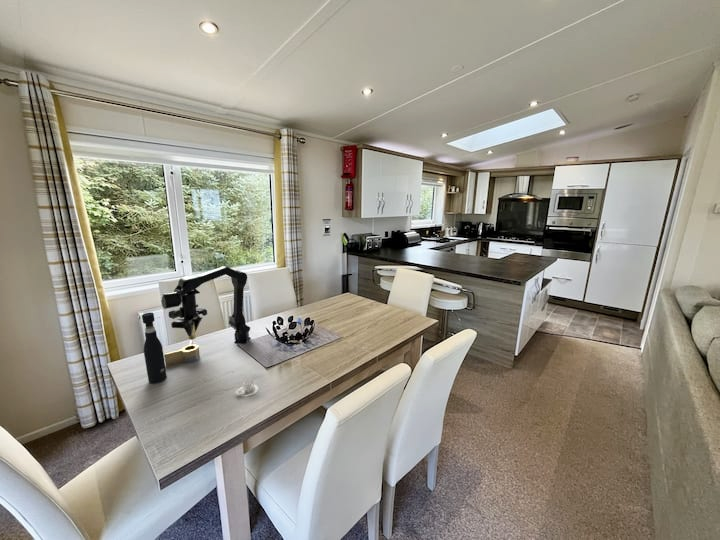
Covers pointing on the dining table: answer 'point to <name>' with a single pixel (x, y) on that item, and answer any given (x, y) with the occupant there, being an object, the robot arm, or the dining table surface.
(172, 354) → the hinge
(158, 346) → the black water bottle
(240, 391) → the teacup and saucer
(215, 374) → the dining table surface
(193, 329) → the hinge pin
